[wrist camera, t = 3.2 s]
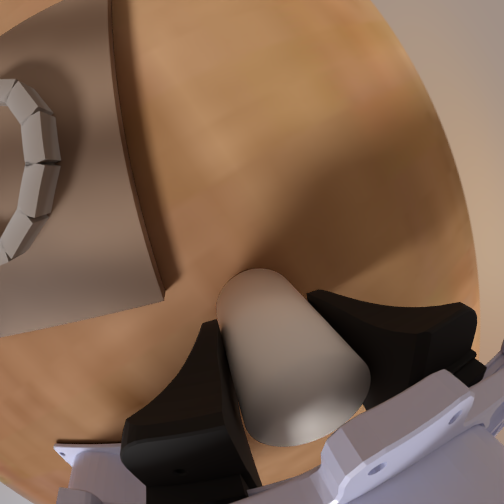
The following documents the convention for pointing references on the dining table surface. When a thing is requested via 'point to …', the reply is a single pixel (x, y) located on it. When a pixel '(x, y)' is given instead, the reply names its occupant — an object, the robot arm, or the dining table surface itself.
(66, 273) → the socket board
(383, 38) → the dining table surface
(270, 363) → the white rounded capsule
